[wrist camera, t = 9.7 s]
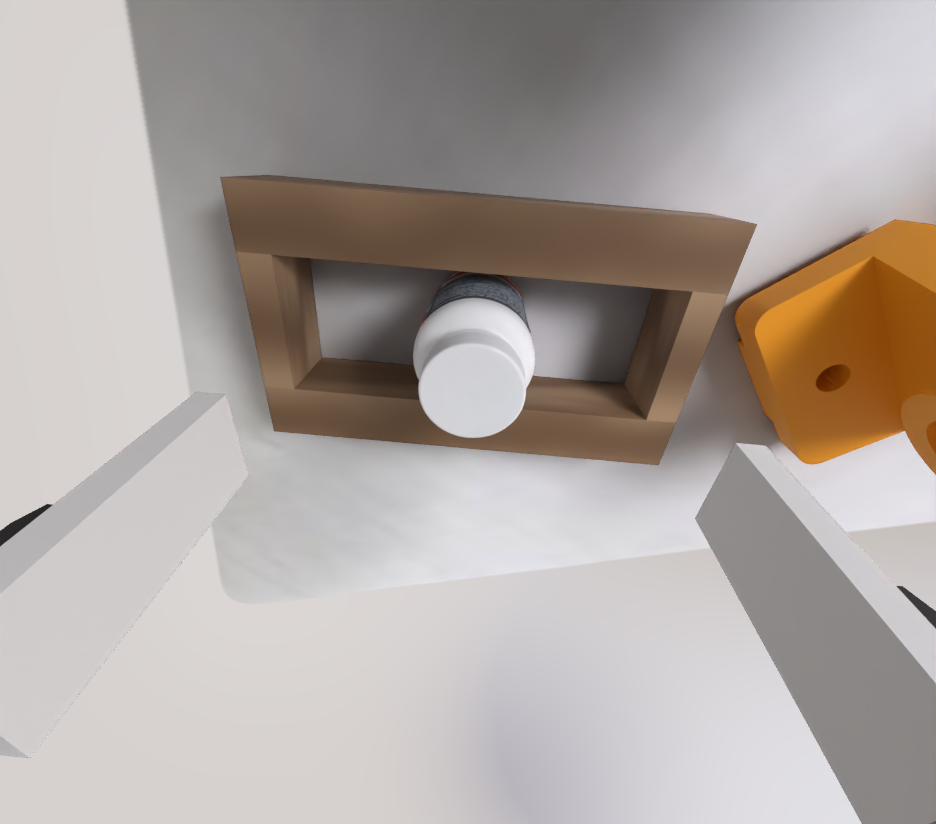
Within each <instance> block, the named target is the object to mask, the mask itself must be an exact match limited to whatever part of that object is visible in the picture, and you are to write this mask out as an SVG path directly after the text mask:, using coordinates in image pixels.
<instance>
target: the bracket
mask: <svg viewBox="0 0 936 824" xmlns="http://www.w3.org/2000/svg"><path fill="white" fill-rule="evenodd" d="M735 323H736V326H737V329H738V331H739V334H740V337H741V339H742V340H740V341H738V342H737V343H738V346H739V348H740V351H741V353H742V356H743V359H744V361H745V364H746V366H747V369H748V372H749V374H750V377H751V379H752V382H753V385H754V387H755V390H756V392H757V395H758V398H759V400H760V403H761V405H762V408H763V411H764V413H765V415H766V416H768V417H769V418H770V419H771V420H772V421H773V424H774V427H775V429H776V432H777V434H778V437H779V440H780V441H781V442H782V443H783V444H784V445H785V446H786V447H787V448H788V449H789V450H790V451H791V452H792V453H793V454H795V455H796V456H797V457H798V458H799V459H800V460H801V461H802V462H804V463H806V464H818V463H822V462H825V461H827V460H830V459H832V458H835V457H838V456H840V455H843V454H845V453H848V452H851V451H853V450H856V449H858V448H861V447H864V446H866V445H869V444H871V443H874V442H877V441H879V440H882V439H884V438H887V437H890V436H892V435H895V434H897V433H900V432H903V431H906V433H907V436H908V438H909V439H910V441H911V443H912V445H913V446H914V448H915V449H916V451H917V452H918V454H919V455H920V456H921V458H922V459H923V460H924V462H925V463H926V464H927V465H928V466H929V468H930V469H931V470H932V471H933V472H934V473H935V474H936V226H935V225H933V224H925V223H918V222H910V221H903V220H893V221H891V222H889V223H888V224H886V225H884V226H882V227H880V228H878V229H876V230H874V231H873V232H871V233H869V234H867V235H865V236H863V237H861V238H859V239H858V240H856V241H854V242H852V243H850V244H848V245H846V246H845V247H843V248H841V249H839V250H837V251H835V252H833V253H831V254H830V255H828V256H826V257H824V258H822V259H820V260H818V261H816V262H815V263H813V264H811V265H809V266H807V267H805V268H803V269H801V270H800V271H798V272H796V273H794V274H792V275H790V276H788V277H787V278H785V279H783V280H781V281H779V282H777V283H775V284H773V285H772V286H770V287H768V288H766V289H764V290H762V291H760V292H758V293H757V294H755V295H753V296H751V297H749V298H748V299H746V300H745V301H744V302H743V303H742V304H741V305H740V306H739V308H738V310H737V312H736V315H735Z"/></svg>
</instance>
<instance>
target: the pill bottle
mask: <svg viewBox="0 0 936 824" xmlns="http://www.w3.org/2000/svg"><path fill="white" fill-rule="evenodd" d="M413 362H414V368H415V372H416V375H417V377H418V379H419V385H418V394H419V400H420V403H421V405H422V408H423V410H424V411H425V413H426V415H427V416H428V417H429V419H430V420H431V421H432V422H433V423H434V424H436V425H437V426H438V427H439V428H441V429H442V430H444V431H446V432H448V433H451V434H453V435H456V436H460V437H466V438H480V437H486V436H490V435H493V434H496V433H498V432H500V431H502V430H503V429H505V428H506V427H508V426H509V425H510V424H511V423H512V422H513V421H514V420H515V419H516V418H517V416H518V415H519V414H520V412H521V410H522V408H523V405H524V402H525V397H526V388H527V386H528V385H529V383H530V381H531V378H532V376H533V373H534V367H535V349H534V344H533V340H532V336H531V332H530V329H529V325H528V320H527V315H526V309H525V304H524V301H523V298H522V295H521V293H520V291H519V290H518V288H517V287H516V285H515V284H514V283H513V282H512V281H511V280H510V279H509V278H507V277H506V276H505V275H496V274H485V273H473V272H462V271H458V272H456V273H454V274H453V275H451V276H449V277H448V278H447V279H446V280H445V281H443V283H442V284H441V285H440V286H439V287H438V289H437V290H436V292H435V294H434V296H433V298H432V300H431V303H430V305H429V307H428V310H427V312H426V314H425V317H424V319H423V321H422V324H421V326H420V328H419V331H418V333H417V336H416V339H415V344H414V350H413Z"/></svg>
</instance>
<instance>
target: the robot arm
mask: <svg viewBox="0 0 936 824" xmlns="http://www.w3.org/2000/svg"><path fill="white" fill-rule="evenodd" d="M248 476H249V473H248V470H247V466H246V463H245V459H244V456H243V453H242V449H241V446H240V442H239V439H238V435H237V432H236V428H235V425H234V421H233V418H232V414H231V411H230V407H229V404H228V400H227V397H226V395H224V394H213V393H203V392H196V393H194V394H193V395H192V396H191V397H189V398H188V399H187V400H186V401H185V402H183V403H182V404H181V405H179V406H178V407H177V408H175V409H174V410H173V411H172V412H170V413H169V414H168V415H167V416H165V417H164V418H163V419H161V420H160V421H159V422H158V423H156V424H155V425H154V426H153V427H151V428H150V429H149V430H148V431H146V432H145V433H144V434H143V435H141V436H140V437H139V438H137V439H136V440H135V441H134V442H132V443H131V444H130V445H129V446H127V447H126V448H125V449H123V450H122V451H121V452H120V453H118V454H117V455H116V456H115V457H113V458H112V459H111V460H109V461H108V462H107V463H106V464H105V465H103V466H102V467H101V468H99V469H98V470H97V471H95V472H94V473H93V474H92V475H90V476H89V477H88V478H87V479H85V480H84V481H83V482H82V483H80V484H79V485H78V486H76V487H75V488H74V489H73V490H71V491H70V492H69V493H68V494H66V495H65V496H64V497H62V498H61V499H60V500H59V501H58V502H56V503H55V504H54V505H50V504H47V505H45V506H43V507H41V508H39V509H37V510H35V511H33V512H31V513H29V514H27V515H25V516H24V517H22V518H20V519H18V520H16V521H14V522H12V523H10V524H9V525H7V526H6V527H5V528H4V529H2V530H1V531H0V755H4V756H13V757H24V758H31V757H32V755H33V754H34V753H35V751H36V750H37V749H38V748H39V746H40V745H41V744H42V742H43V741H44V740H45V739H46V737H47V736H48V735H49V733H50V732H51V731H52V729H53V728H54V727H55V726H56V724H57V723H58V722H59V720H60V719H61V718H62V717H63V715H64V714H65V713H66V711H67V710H68V709H69V707H70V706H71V705H72V704H73V702H74V701H75V700H76V698H77V697H78V696H79V695H80V693H81V692H82V691H83V689H84V688H85V687H86V686H87V684H88V683H89V682H90V680H91V679H92V678H93V676H94V675H95V674H96V672H97V671H98V670H99V668H100V667H101V666H102V665H103V663H104V662H105V661H106V660H107V658H108V657H109V656H110V654H111V653H112V652H113V651H114V649H115V648H116V647H117V645H118V644H119V643H120V641H121V640H122V639H123V638H124V636H125V635H126V634H127V633H128V631H129V630H130V629H131V627H132V626H133V625H134V623H135V622H136V621H137V619H138V618H139V617H140V616H141V614H142V613H143V612H144V610H145V609H146V608H147V607H148V605H149V604H150V603H151V601H152V600H153V599H154V598H155V596H156V595H157V594H158V592H159V591H160V590H161V589H162V587H163V586H164V585H165V583H166V582H167V581H168V580H169V578H170V577H171V575H172V574H173V573H174V572H175V570H176V569H177V568H178V567H179V565H180V564H181V563H182V561H183V560H184V559H185V558H186V556H187V555H188V554H189V552H190V551H191V550H192V548H193V547H194V546H195V545H196V543H197V542H198V541H199V539H200V538H201V537H202V536H203V534H204V533H205V532H206V530H207V529H208V528H209V527H210V525H211V524H212V523H213V521H214V520H215V519H216V517H217V516H218V515H219V514H220V512H221V511H222V510H223V508H224V507H225V506H226V505H227V503H228V502H229V501H230V499H231V498H232V497H233V496H234V494H235V493H236V492H237V490H238V489H239V488H240V486H241V485H242V484H243V483H244V481H245V480H246V479H247V477H248ZM695 519H696V521H697V523H698V525H699V527H700V528H701V530H702V532H703V534H704V536H705V538H706V539H707V541H708V543H709V545H710V547H711V549H712V550H713V552H714V554H715V556H716V558H717V559H718V561H719V563H720V565H721V567H722V569H723V571H724V572H725V574H726V576H727V578H728V580H729V581H730V583H731V585H732V587H733V589H734V591H735V592H736V594H737V596H738V598H739V600H740V602H741V603H742V605H743V607H744V609H745V611H746V613H747V614H748V616H749V618H750V620H751V621H752V623H753V625H754V627H755V629H756V631H757V633H758V635H759V636H760V638H761V640H762V642H763V644H764V646H765V647H766V649H767V651H768V653H769V655H770V656H771V658H772V660H773V662H774V664H775V666H776V667H777V669H778V671H779V673H780V675H781V676H782V678H783V680H784V682H785V684H786V686H787V688H788V689H789V691H790V693H791V695H792V697H793V699H794V700H795V702H796V704H797V706H798V708H799V709H800V711H801V713H802V715H803V717H804V719H805V720H806V722H807V724H808V726H809V728H810V730H811V731H812V733H813V735H814V737H815V739H816V741H817V742H818V744H819V746H820V748H821V750H822V752H823V753H824V755H825V757H826V759H827V761H828V763H829V764H830V766H831V768H832V770H833V772H834V773H835V775H836V777H837V779H838V781H839V783H840V785H841V786H842V788H843V790H844V792H845V794H846V795H847V797H848V799H849V801H850V803H851V805H852V806H853V808H854V810H855V812H856V814H857V815H858V817H859V819H860V821H861V823H862V824H936V611H935V610H933V609H932V608H931V607H929V606H928V605H927V604H925V603H924V602H923V601H921V600H920V599H918V598H917V597H916V596H915V595H913V594H912V593H911V592H909V591H908V590H907V589H905V588H904V587H903V586H896V585H895V584H894V583H893V582H892V581H891V580H890V579H889V578H888V577H887V576H886V575H885V574H884V573H883V572H882V570H881V569H880V568H879V567H878V566H877V565H876V564H875V563H874V562H873V561H872V560H871V559H870V557H869V556H868V555H867V554H866V553H865V552H864V551H863V550H862V549H861V548H860V547H859V546H858V545H857V543H856V542H855V541H854V540H853V539H852V538H851V537H850V536H849V535H848V534H847V533H846V532H845V530H844V529H843V528H842V527H841V526H840V525H839V524H838V523H837V522H836V521H835V520H834V519H833V518H832V516H831V515H830V514H829V513H828V512H827V511H826V510H825V509H824V508H823V507H822V506H821V505H820V504H819V502H818V501H817V500H816V499H815V498H814V497H813V496H812V495H811V494H810V493H809V492H808V491H807V489H806V488H805V487H804V486H803V485H802V484H801V483H800V482H799V481H798V480H797V479H796V478H795V477H794V475H793V474H792V473H791V472H790V471H789V470H788V469H787V468H786V467H785V466H784V465H783V464H782V463H781V461H780V460H779V459H778V458H777V457H776V456H775V455H774V454H773V453H772V452H771V451H770V450H769V449H768V447H767V446H764V445H753V444H743V443H735V445H734V447H733V449H732V451H731V452H730V454H729V456H728V458H727V460H726V462H725V464H724V465H723V467H722V469H721V471H720V473H719V475H718V477H717V479H716V480H715V482H714V484H713V486H712V488H711V490H710V492H709V493H708V495H707V497H706V499H705V501H704V503H703V505H702V506H701V508H700V510H699V512H698V514H697V516H696V518H695Z"/></svg>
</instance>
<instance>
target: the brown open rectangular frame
mask: <svg viewBox="0 0 936 824" xmlns="http://www.w3.org/2000/svg"><path fill="white" fill-rule="evenodd" d="M220 179H221V183H222V188H223V193H224V197H225V202H226V207H227V212H228V216H229V221H230V226H231V230H232V235H233V240H234V245H235V249H236V254H237V259H238V263H239V268H240V273H241V277H242V282H243V287H244V292H245V296H246V301H247V306H248V310H249V315H250V320H251V325H252V329H253V334H254V339H255V343H256V348H257V353H258V357H259V362H260V367H261V372H262V376H263V381H264V386H265V390H266V395H267V400H268V405H269V409H270V414H271V419H272V423H273V428H274V431H278V432H289V433H301V434H312V435H323V436H335V437H346V438H357V439H369V440H380V441H391V442H403V443H414V444H425V445H437V446H448V447H459V448H470V449H482V450H493V451H504V452H516V453H527V454H538V455H550V456H561V457H572V458H584V459H595V460H606V461H618V462H629V463H640V464H652V465H659V463H660V460H661V458H662V455H663V453H664V450H665V448H666V445H667V443H668V441H669V438H670V436H671V433H672V431H673V428H674V426H675V423H676V421H677V419H678V416H679V414H680V411H681V409H682V406H683V404H684V402H685V399H686V397H687V394H688V392H689V389H690V387H691V384H692V382H693V380H694V377H695V375H696V372H697V370H698V367H699V365H700V362H701V360H702V358H703V355H704V353H705V350H706V348H707V345H708V343H709V340H710V338H711V336H712V333H713V331H714V328H715V326H716V323H717V321H718V318H719V316H720V314H721V311H722V309H723V306H724V304H725V301H726V299H727V296H728V294H729V292H730V289H731V287H732V284H733V282H734V279H735V277H736V274H737V272H738V270H739V267H740V265H741V262H742V260H743V257H744V255H745V252H746V250H747V248H748V245H749V243H750V240H751V238H752V235H753V233H754V230H755V228H756V226H757V224H754V223H749V222H745V221H740V220H736V219H731V218H726V217H722V216H717V215H713V214H706V213H695V212H683V211H672V210H660V209H649V208H637V207H626V206H615V205H603V204H592V203H580V202H569V201H558V200H546V199H535V198H523V197H512V196H500V195H489V194H478V193H466V192H455V191H443V190H432V189H421V188H409V187H398V186H386V185H375V184H363V183H352V182H341V181H329V180H318V179H306V178H295V177H284V176H272V175H260V176H236V177H220ZM310 258H314V259H325V260H337V261H348V262H359V263H371V264H382V265H394V266H405V267H416V268H428V269H439V270H450V271H462V272H473V273H485V274H496V275H507V276H519V277H530V278H542V279H553V280H564V281H576V282H587V283H598V284H610V285H621V286H633V287H644V288H654V290H653V293H652V296H651V299H650V303H649V306H648V309H647V312H646V315H645V319H644V322H643V325H642V328H641V331H640V335H639V338H638V341H637V344H636V348H635V351H634V354H633V357H632V360H631V364H630V367H629V370H628V373H627V376H626V380H625V383H624V384H618V383H606V382H595V381H584V380H572V379H561V378H550V377H538V376H532V378H531V381H530V383H529V385H528V386H527V388H526V397H525V402H524V405H523V408H522V410H521V412H520V414H519V415H518V416H517V418H516V419H515V420H514V421H513V422H512V423H511V424H510V425H509V426H508V427H506V428H505V429H503V430H502V431H500V432H498V433H496V434H493V435H490V436H486V437H480V438H466V437H460V436H456V435H453V434H451V433H448V432H446V431H444V430H442V429H441V428H439V427H438V426H437V425H436V424H434V423H433V422H432V421H431V420H430V419H429V417H428V416H427V415H426V413H425V411H424V410H423V408H422V405H421V403H420V400H419V394H418V385H419V379H418V377H417V375H416V372H415V368H414V365H402V364H391V363H380V362H368V361H357V360H345V359H334V358H323V357H322V354H321V346H320V338H319V330H318V322H317V314H316V306H315V297H314V289H313V281H312V273H311V265H310Z"/></svg>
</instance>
